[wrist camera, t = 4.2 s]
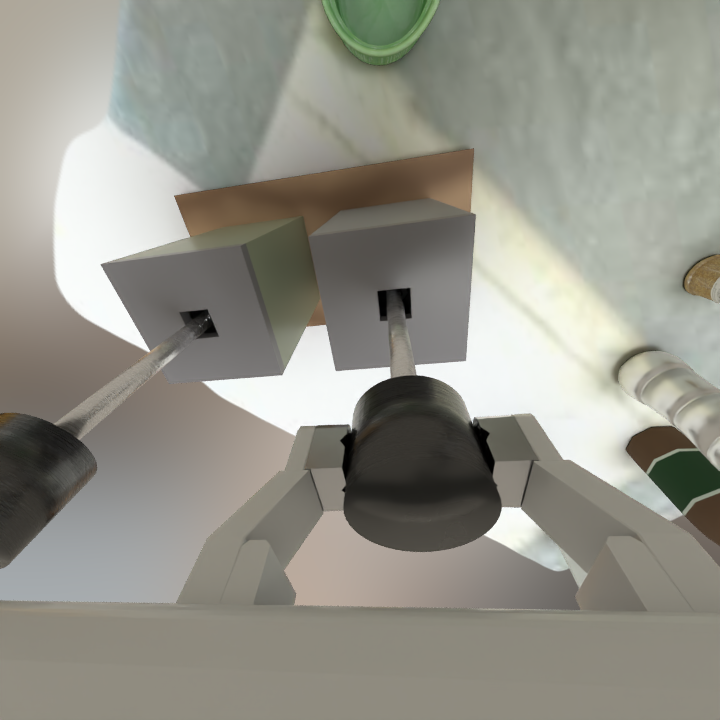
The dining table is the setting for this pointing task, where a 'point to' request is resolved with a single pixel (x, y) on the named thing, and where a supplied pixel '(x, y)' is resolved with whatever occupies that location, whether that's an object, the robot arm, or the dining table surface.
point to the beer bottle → (681, 475)
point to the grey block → (395, 279)
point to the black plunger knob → (66, 447)
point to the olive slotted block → (224, 297)
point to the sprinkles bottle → (705, 279)
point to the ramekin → (380, 26)
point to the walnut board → (332, 195)
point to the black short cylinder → (415, 456)
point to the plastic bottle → (676, 397)
